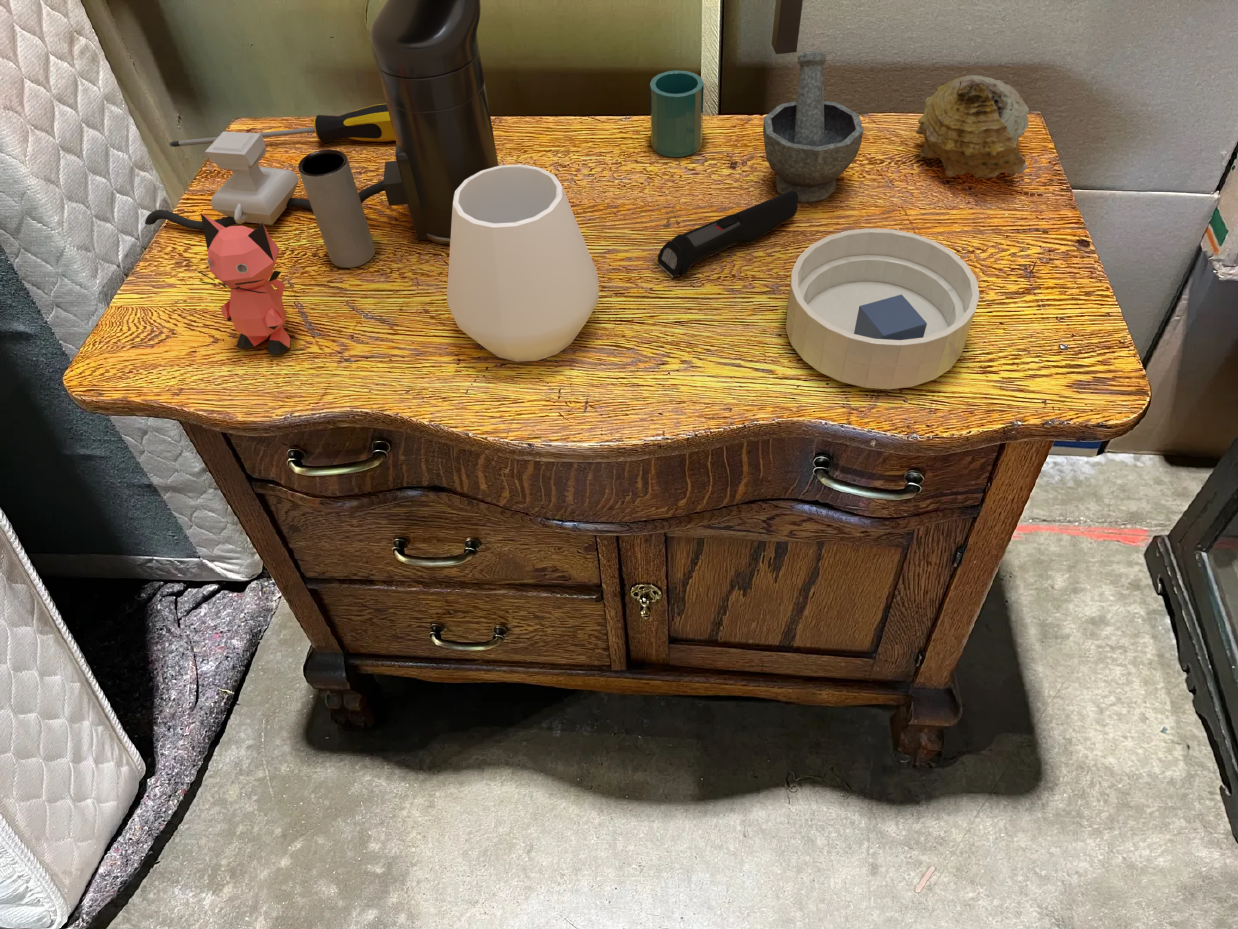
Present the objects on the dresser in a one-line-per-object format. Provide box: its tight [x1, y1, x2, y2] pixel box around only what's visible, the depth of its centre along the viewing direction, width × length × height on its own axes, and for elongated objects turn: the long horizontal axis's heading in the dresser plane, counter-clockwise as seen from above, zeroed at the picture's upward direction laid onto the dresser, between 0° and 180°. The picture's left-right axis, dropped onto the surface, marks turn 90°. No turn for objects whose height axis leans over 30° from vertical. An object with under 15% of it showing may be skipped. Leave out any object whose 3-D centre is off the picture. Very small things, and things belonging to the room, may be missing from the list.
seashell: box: [915, 74, 1030, 179], centre depth 94 cm, size 11×14×10 cm
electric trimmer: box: [657, 191, 799, 278], centre depth 88 cm, size 4×16×3 cm, turn 122°
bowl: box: [785, 227, 980, 390], centre depth 77 cm, size 15×15×6 cm
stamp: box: [204, 131, 300, 226], centre depth 93 cm, size 9×7×8 cm
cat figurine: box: [194, 212, 291, 355], centre depth 79 cm, size 7×7×12 cm
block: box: [854, 294, 927, 340], centre depth 76 cm, size 4×4×4 cm
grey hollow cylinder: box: [297, 149, 376, 269], centre depth 87 cm, size 4×4×10 cm
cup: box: [446, 163, 600, 363], centre depth 77 cm, size 13×13×14 cm
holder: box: [649, 69, 705, 158], centre depth 98 cm, size 6×6×7 cm
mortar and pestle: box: [762, 50, 864, 203], centre depth 90 cm, size 11×9×12 cm
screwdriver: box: [169, 103, 396, 148], centre depth 104 cm, size 3×3×30 cm
